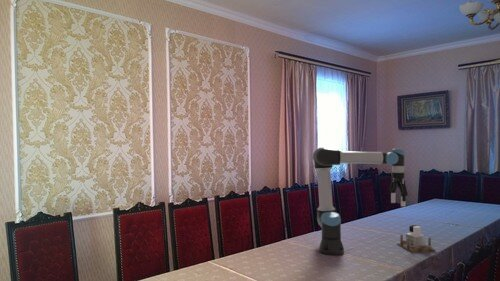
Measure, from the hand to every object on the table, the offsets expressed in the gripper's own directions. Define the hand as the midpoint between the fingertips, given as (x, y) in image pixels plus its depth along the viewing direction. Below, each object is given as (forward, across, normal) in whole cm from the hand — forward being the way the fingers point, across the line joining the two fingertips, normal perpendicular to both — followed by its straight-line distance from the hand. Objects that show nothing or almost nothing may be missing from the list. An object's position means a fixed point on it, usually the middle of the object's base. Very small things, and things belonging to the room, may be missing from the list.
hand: (398, 204), depth 226 cm
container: (+26, -7, -8) cm, 28 cm away
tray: (+26, -7, -8) cm, 28 cm away
